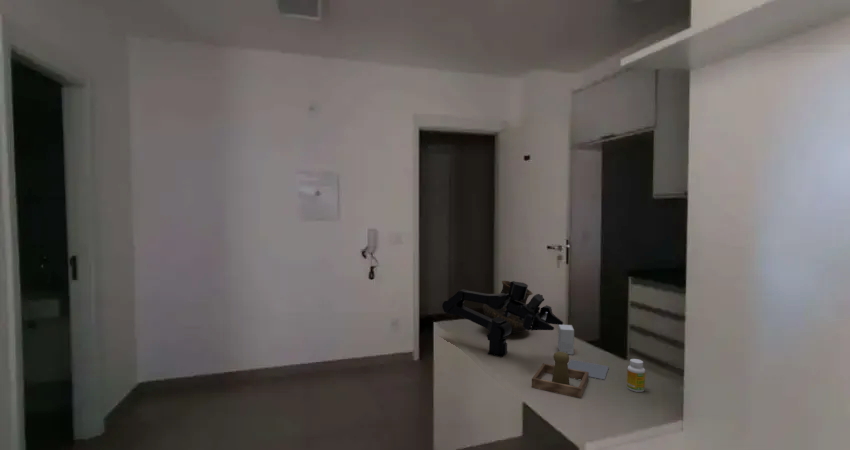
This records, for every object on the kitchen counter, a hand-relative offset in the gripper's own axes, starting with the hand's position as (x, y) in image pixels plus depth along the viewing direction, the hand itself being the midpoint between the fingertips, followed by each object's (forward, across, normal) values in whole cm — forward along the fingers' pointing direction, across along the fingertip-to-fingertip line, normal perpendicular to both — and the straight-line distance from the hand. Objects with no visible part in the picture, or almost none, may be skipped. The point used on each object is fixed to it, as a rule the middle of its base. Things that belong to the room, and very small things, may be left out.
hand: (558, 326), depth 160 cm
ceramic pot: (-31, +29, +24) cm, 49 cm away
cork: (+10, -12, +15) cm, 22 cm away
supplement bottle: (+30, 0, +10) cm, 32 cm away
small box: (-1, +22, +17) cm, 28 cm away
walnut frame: (+10, -12, +15) cm, 21 cm away
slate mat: (+12, +6, +14) cm, 20 cm away
